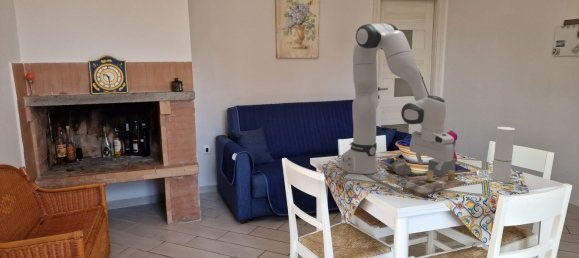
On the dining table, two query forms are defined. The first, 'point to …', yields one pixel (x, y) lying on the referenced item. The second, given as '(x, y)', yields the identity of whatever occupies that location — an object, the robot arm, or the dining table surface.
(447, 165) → the housing
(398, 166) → the ceramic sculpture
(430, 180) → the brass pin
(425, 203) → the dining table surface
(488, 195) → the dining table surface
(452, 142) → the pepper mill
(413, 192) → the board
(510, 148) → the cylindrical container
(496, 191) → the dining table surface
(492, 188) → the dining table surface
